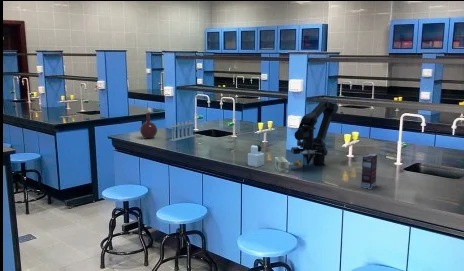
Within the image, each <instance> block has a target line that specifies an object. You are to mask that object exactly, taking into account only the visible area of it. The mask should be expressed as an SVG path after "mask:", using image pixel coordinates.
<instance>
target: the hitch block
mask: <svg viewBox="0 0 464 271" xmlns="http://www.w3.org/2000/svg"><path fill="white" fill-rule="evenodd" d="M289 163H290V162H289V161H288V160H287V159H286V158H285V157H284V156H279V157H278V156H277V157H276V156H275V157H274V167H273V168H275V170H276V171H277V172H278V173H280V174H283V173H284V174H285V173H286V174H287V173H289V170H290V166H289Z"/></svg>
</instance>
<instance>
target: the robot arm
mask: <svg viewBox="0 0 464 271" xmlns="http://www.w3.org/2000/svg"><path fill="white" fill-rule="evenodd" d="M338 110H339V105H338V104H337V103H335V102H330V101H328V100H320V101H318V104H317V105H316V107H314V108H313V110H312V111H311V112H308V113H306V114H304V115H303V116H302V118H301V119H300V122H299V126H298V128H297V130H296V131H295V132H294V134H293V135H294V139H295V140H296V146H294V147H293V146H292V147H291V148H290V153H292V154H293V155H299V154H301V155H302V156H303V157H304V160H305V164H306V165H307V166H309V165H310V164H312V165H313V166H316V167H317V166H319V167H320V166H326V163H325V162H326V161H325V158H326V156H327V155H328V153H329V152H328V149H327V147H326V145H327V144H326V141H325V139H326V136H327V134H328V133H327V132H328V130H329V128H330V124H331V121H332V118H333V117H335V116H336V115H337V112H338ZM322 114H323V117H322V120H321V122H320V125H319V128H318V132H317V135H316V137H315V134H314V133H315V130H316V127H315V126H316V124H317V123H318V119H319V117H320V116H321V115H322Z"/></svg>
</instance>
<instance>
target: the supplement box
mask: <svg viewBox="0 0 464 271" xmlns="http://www.w3.org/2000/svg"><path fill="white" fill-rule="evenodd" d="M377 163H378V154H377V153H370V152H368V153H367V154H364V155H363V156H362V164H361V165H362V166H361V182H360V183H361V185H360V188H361V187H363V188H362V189H365V188H368V189H367V190H371V189H373V188H374V187H375V186H377V185H376V184H377V168H378V167H377V166H378V165H377ZM374 185H375V186H374ZM373 186H374V187H373ZM372 187H373V188H372Z"/></svg>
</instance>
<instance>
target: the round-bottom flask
mask: <svg viewBox="0 0 464 271" xmlns="http://www.w3.org/2000/svg"><path fill="white" fill-rule="evenodd" d="M145 114H146V121H145V122H143V123H142V124H141V126H140V129H139V130H140V135H141V136H142V137H143V138H145V139H152V138H154V137H155V136H156V135H158V134H157V133H158V127H157V125H156V124H155V123H154V122H152V121H151V115H150V114H151V113H150V112H146V113H145Z"/></svg>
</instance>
